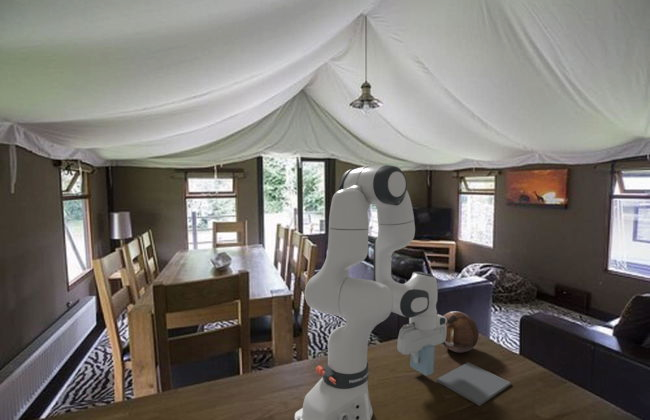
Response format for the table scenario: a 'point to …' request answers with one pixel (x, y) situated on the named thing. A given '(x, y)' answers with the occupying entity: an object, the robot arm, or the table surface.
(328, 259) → the robot arm
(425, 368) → the block
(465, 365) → the mat
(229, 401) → the table surface
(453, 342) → the wooden sphere
